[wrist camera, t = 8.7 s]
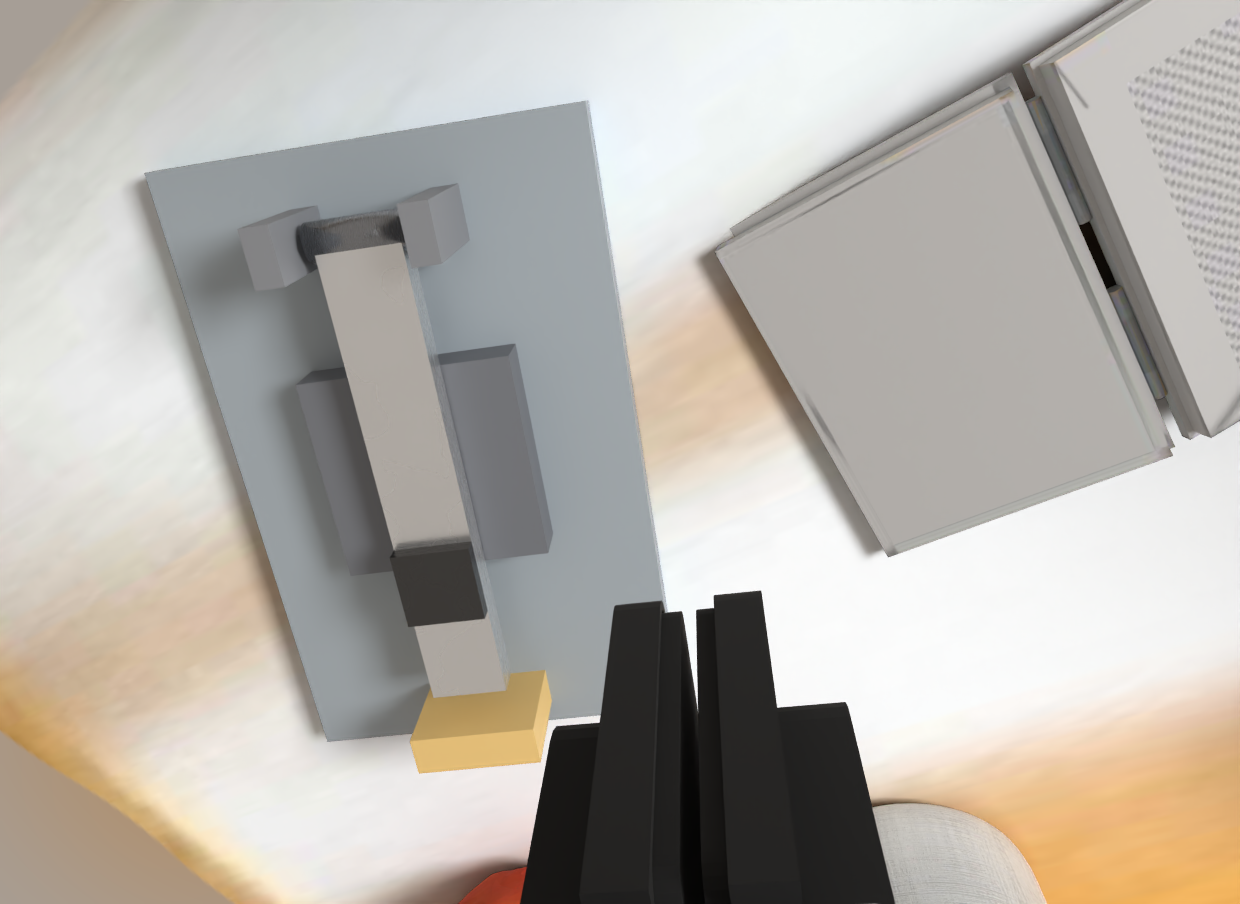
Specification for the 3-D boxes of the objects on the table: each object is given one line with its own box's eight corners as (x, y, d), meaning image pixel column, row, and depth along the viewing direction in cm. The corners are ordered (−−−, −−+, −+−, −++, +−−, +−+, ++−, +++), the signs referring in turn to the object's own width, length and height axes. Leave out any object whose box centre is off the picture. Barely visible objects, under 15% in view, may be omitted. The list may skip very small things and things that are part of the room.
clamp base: (160, 170, 35) (69, 187, 30) (588, 100, 34) (572, 106, 28) (336, 724, 44) (290, 815, 39) (679, 690, 43) (681, 780, 37)
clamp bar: (311, 219, 33) (290, 227, 31) (412, 203, 32) (398, 211, 31) (433, 679, 40) (422, 707, 38) (518, 670, 39) (511, 699, 37)
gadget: (883, 547, 40) (903, 591, 37) (706, 238, 36) (710, 256, 32) (1454, 268, 35) (1539, 289, 32) (1328, -133, 31) (1411, -160, 27)
